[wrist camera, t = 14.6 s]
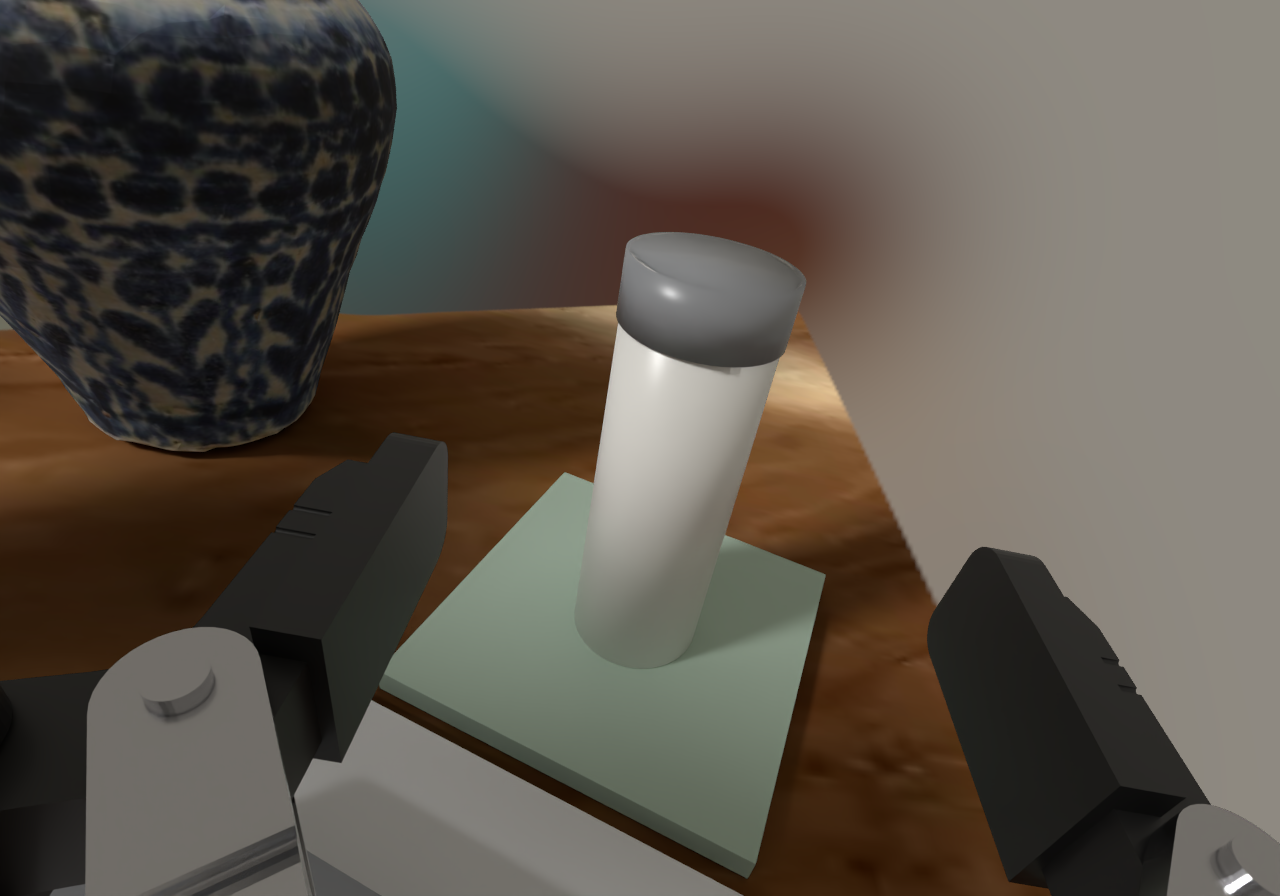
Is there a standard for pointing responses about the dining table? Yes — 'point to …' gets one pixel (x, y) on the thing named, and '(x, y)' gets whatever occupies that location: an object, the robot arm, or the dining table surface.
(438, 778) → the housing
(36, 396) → the dining table surface
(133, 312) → the jug
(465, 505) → the dining table surface
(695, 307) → the cartridge
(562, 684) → the mat
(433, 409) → the dining table surface
